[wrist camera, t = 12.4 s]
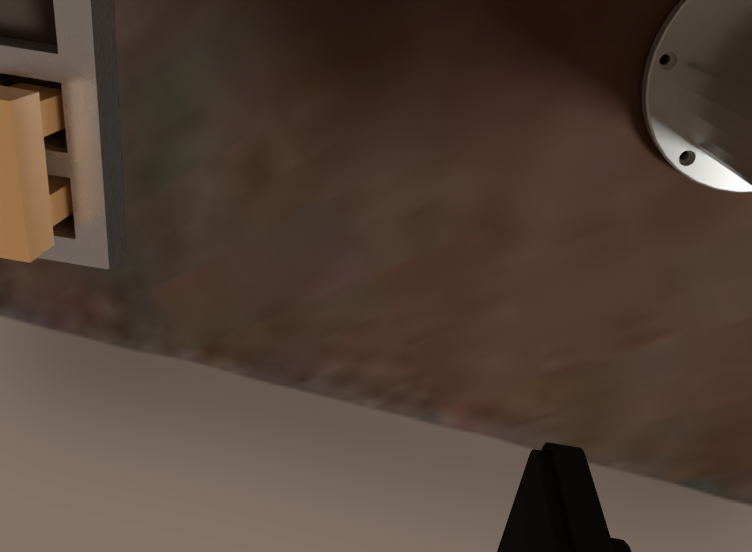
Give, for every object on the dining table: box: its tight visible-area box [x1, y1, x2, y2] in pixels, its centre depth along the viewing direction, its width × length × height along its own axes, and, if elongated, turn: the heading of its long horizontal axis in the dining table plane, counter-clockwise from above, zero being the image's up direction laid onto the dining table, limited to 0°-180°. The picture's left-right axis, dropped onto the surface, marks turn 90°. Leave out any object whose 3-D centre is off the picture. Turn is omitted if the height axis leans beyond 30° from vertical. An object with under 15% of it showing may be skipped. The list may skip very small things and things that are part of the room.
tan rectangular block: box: [0, 83, 73, 263], centre depth 35 cm, size 4×9×6 cm, turn 172°
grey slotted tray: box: [0, 0, 127, 269], centre depth 35 cm, size 9×24×2 cm, turn 172°
